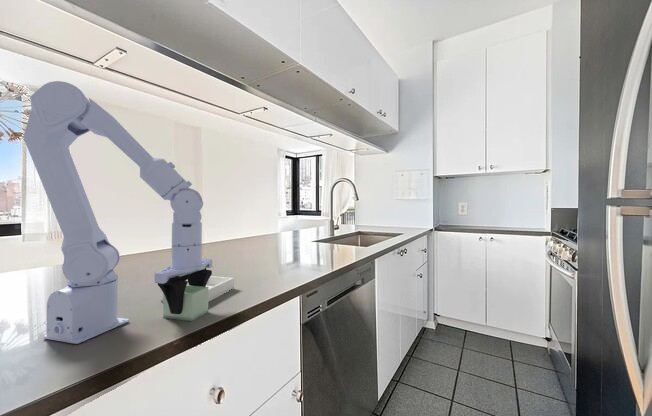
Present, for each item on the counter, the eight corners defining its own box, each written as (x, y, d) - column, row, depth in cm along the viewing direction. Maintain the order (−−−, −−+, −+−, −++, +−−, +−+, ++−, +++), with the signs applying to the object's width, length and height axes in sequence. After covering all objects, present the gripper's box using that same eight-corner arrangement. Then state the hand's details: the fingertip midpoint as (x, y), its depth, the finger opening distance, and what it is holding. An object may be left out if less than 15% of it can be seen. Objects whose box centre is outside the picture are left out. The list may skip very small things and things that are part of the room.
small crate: (192, 321, 56) (192, 294, 56) (163, 317, 57) (163, 291, 57) (208, 312, 60) (208, 287, 60) (181, 308, 62) (181, 284, 62)
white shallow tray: (200, 306, 64) (200, 293, 64) (160, 301, 66) (160, 289, 66) (234, 288, 77) (234, 277, 77) (200, 285, 80) (200, 275, 80)
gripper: (176, 250, 51) (176, 324, 51) (223, 241, 65) (223, 298, 65) (145, 249, 52) (145, 320, 53) (197, 239, 66) (197, 296, 67)
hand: (186, 308), depth 59 cm, fingers open, 5 cm apart
